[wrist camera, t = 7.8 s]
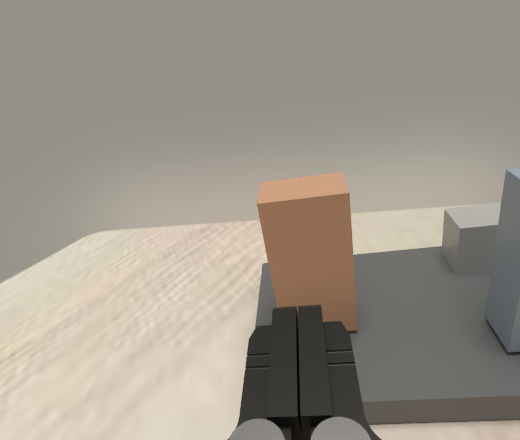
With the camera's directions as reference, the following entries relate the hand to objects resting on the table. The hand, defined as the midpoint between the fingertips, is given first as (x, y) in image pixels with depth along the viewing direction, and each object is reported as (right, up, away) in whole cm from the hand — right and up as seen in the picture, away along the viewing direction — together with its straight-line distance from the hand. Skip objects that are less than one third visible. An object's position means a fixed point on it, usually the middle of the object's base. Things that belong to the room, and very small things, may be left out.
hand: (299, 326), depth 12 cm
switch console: (+10, -4, +15) cm, 18 cm away
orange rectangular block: (+3, -3, +14) cm, 15 cm away
